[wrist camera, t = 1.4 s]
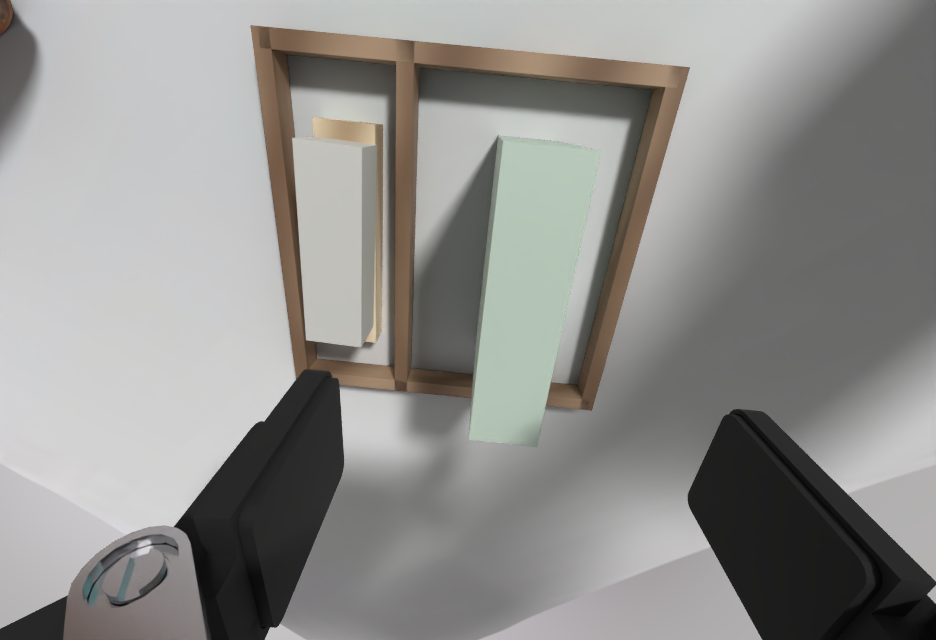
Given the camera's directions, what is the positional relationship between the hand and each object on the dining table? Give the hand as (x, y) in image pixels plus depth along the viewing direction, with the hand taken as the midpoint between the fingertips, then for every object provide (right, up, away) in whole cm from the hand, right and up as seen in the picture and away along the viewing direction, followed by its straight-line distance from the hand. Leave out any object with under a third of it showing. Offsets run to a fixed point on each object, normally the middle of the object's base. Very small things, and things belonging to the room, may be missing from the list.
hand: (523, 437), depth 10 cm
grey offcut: (-8, +7, +12) cm, 16 cm away
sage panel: (+1, +7, +13) cm, 15 cm away
